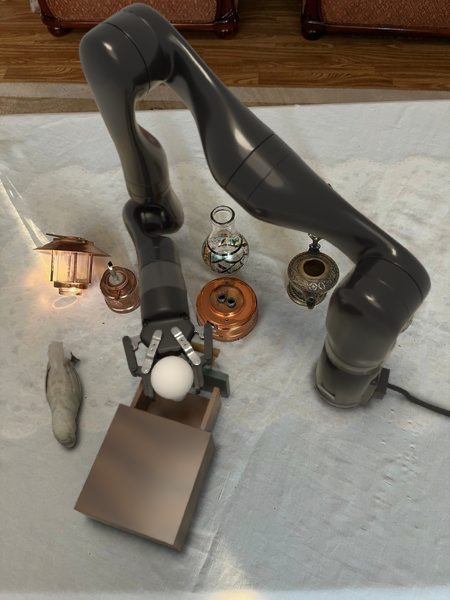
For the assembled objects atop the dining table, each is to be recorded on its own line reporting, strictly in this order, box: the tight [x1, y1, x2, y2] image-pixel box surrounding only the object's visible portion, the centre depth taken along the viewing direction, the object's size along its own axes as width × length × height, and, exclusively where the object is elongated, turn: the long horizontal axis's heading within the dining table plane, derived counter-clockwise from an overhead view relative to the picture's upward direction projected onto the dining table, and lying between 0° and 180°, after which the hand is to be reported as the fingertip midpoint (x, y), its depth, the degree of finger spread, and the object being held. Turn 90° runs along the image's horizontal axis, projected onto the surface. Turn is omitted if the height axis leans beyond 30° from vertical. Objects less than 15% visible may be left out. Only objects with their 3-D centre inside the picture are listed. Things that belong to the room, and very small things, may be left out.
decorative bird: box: [44, 340, 82, 448], centre depth 85 cm, size 5×16×8 cm, turn 11°
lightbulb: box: [151, 356, 194, 402], centre depth 77 cm, size 6×6×11 cm
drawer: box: [129, 340, 231, 433], centre depth 83 cm, size 20×13×8 cm
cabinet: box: [73, 403, 216, 552], centre depth 77 cm, size 16×15×10 cm
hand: (175, 396), depth 75 cm, fingers closed on lightbulb, 6 cm apart
